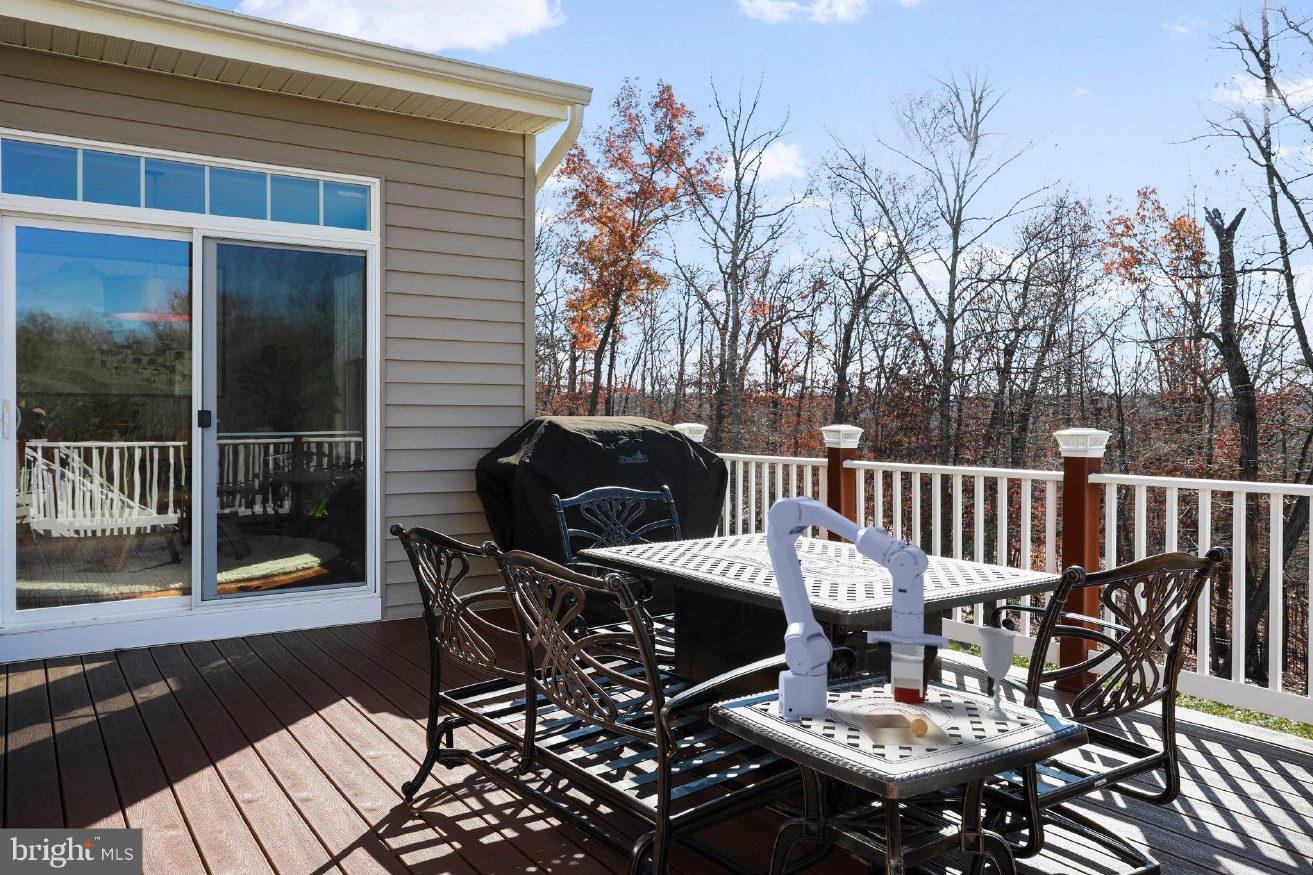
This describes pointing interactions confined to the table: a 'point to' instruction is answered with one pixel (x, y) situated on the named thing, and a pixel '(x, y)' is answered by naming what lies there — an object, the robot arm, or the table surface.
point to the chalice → (997, 662)
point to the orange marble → (919, 727)
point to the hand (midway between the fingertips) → (907, 683)
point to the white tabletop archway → (907, 672)
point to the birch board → (900, 729)
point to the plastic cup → (907, 693)
